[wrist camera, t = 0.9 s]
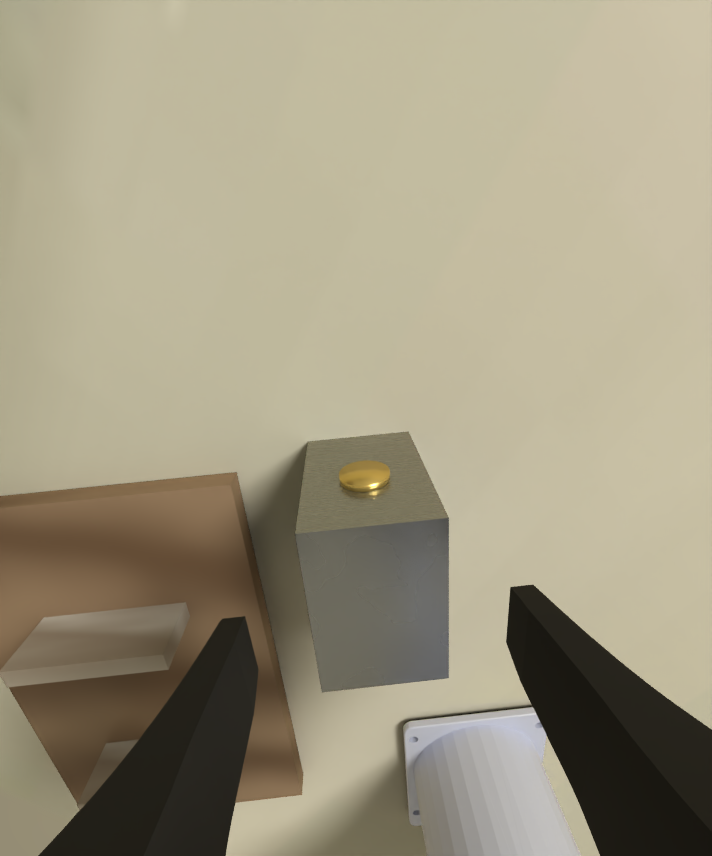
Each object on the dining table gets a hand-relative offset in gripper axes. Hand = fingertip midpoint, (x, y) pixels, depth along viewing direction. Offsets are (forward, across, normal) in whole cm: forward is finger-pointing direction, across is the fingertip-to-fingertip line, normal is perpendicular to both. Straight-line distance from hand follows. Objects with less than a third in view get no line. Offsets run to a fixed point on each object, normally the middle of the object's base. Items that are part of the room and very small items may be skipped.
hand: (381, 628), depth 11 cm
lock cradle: (+6, +11, +8) cm, 15 cm away
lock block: (+7, 0, 0) cm, 7 cm away
